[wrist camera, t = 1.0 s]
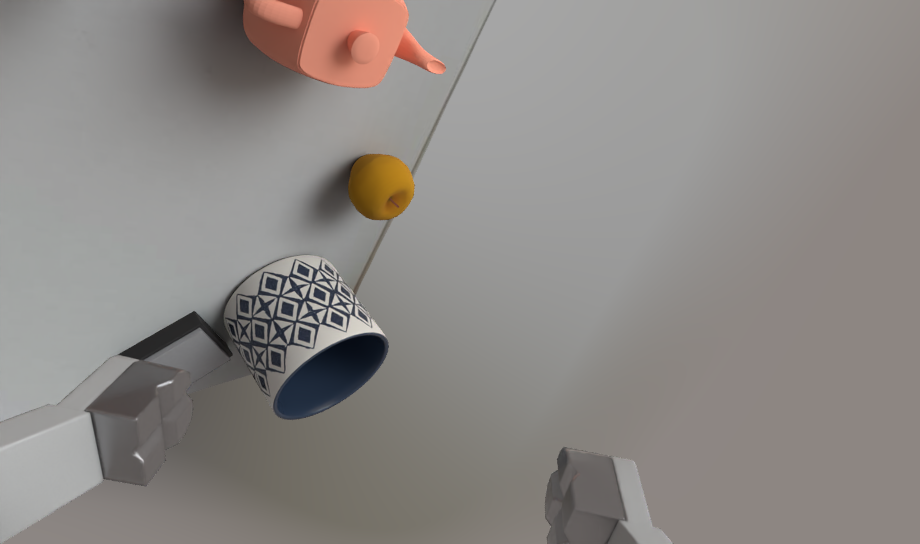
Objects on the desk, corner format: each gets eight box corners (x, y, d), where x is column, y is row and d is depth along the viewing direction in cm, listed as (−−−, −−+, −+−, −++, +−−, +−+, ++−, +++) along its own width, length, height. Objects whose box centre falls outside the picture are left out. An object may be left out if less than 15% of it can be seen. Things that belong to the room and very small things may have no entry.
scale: (156, 385, 78) (164, 402, 76) (113, 356, 68) (121, 375, 67) (226, 343, 81) (235, 359, 80) (194, 310, 72) (203, 327, 70)
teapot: (184, 22, 46) (244, 96, 41) (217, -129, 40) (291, -65, 35) (365, 66, 61) (424, 124, 56) (407, -38, 55) (479, 15, 50)
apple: (319, 183, 69) (354, 226, 66) (358, 128, 67) (397, 170, 63) (364, 198, 77) (397, 238, 73) (400, 150, 75) (437, 188, 71)
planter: (350, 248, 84) (408, 322, 77) (311, 326, 92) (360, 399, 85) (241, 255, 70) (300, 347, 63) (207, 346, 78) (255, 436, 72)
